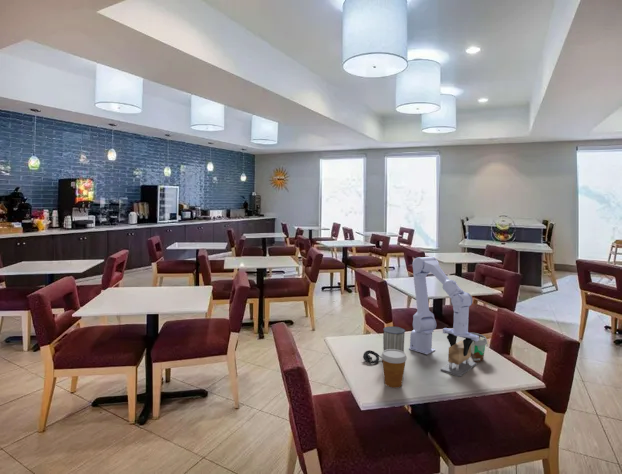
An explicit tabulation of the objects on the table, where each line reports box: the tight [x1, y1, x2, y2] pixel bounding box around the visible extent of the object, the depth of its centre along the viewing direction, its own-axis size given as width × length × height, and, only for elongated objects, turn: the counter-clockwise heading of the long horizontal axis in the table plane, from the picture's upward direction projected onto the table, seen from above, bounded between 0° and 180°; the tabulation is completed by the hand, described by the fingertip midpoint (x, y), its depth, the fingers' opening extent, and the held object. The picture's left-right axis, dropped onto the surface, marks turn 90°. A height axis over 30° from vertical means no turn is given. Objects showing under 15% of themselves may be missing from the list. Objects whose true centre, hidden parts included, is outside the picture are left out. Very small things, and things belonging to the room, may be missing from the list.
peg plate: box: [440, 358, 478, 378], centre depth 162 cm, size 8×17×3 cm, turn 136°
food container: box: [469, 331, 488, 363], centre depth 172 cm, size 12×6×10 cm, turn 168°
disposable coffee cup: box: [380, 349, 408, 389], centre depth 146 cm, size 10×10×12 cm
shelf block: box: [447, 340, 471, 365], centre depth 162 cm, size 4×12×6 cm, turn 136°
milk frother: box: [362, 325, 406, 365], centre depth 166 cm, size 14×16×15 cm
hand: (459, 353), depth 162 cm, fingers closed on shelf block, 4 cm apart
